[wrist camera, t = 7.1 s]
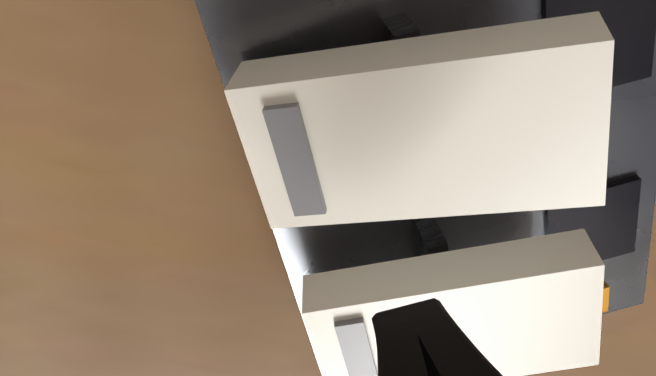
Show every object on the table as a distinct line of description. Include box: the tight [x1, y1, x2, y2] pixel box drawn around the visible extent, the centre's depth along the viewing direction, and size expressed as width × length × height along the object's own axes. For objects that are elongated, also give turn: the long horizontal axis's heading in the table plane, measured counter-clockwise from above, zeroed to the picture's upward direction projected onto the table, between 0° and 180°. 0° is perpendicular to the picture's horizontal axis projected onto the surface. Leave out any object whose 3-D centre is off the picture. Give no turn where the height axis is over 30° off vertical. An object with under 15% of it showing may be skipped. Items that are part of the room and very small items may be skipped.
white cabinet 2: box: [224, 11, 614, 229], centre depth 14 cm, size 8×4×2 cm, turn 102°
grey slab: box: [195, 0, 656, 374], centre depth 19 cm, size 12×26×5 cm, turn 12°
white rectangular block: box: [302, 229, 605, 376], centre depth 18 cm, size 8×4×2 cm, turn 102°
